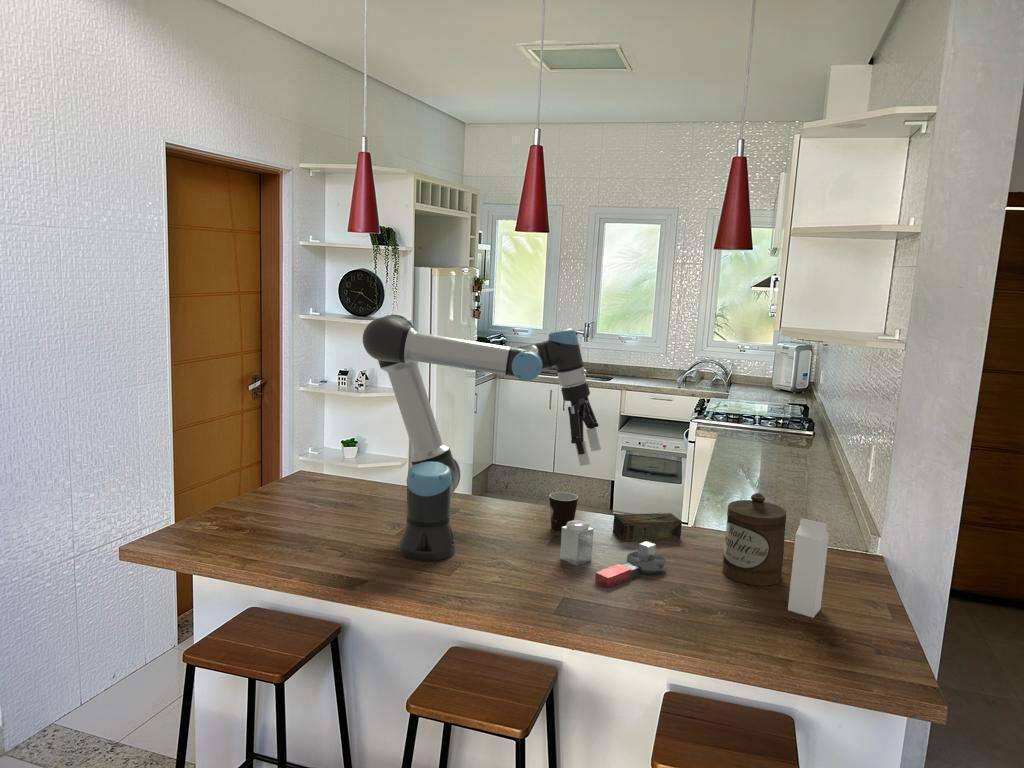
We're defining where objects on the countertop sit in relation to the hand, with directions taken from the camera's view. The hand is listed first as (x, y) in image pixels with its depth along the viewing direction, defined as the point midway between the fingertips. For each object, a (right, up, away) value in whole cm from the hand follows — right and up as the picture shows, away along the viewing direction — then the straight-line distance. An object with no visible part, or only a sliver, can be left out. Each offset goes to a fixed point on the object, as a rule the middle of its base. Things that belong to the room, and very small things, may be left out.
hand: (590, 457), depth 212 cm
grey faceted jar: (-5, -27, -8) cm, 28 cm away
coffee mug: (-7, -23, +17) cm, 30 cm away
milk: (+47, -33, -32) cm, 66 cm away
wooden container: (+41, -30, -13) cm, 52 cm away
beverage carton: (+18, -25, +12) cm, 33 cm away
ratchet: (+9, -29, -16) cm, 34 cm away
